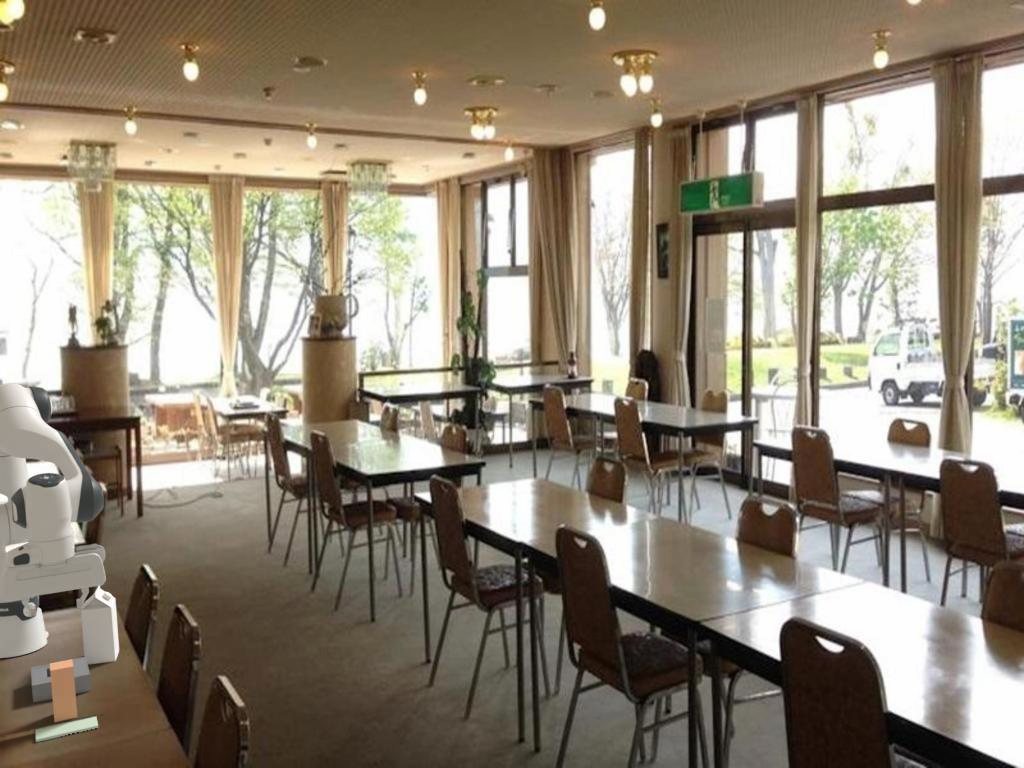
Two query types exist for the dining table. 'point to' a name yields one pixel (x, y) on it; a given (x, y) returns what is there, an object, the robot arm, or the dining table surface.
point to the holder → (43, 679)
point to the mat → (66, 728)
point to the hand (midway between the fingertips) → (57, 611)
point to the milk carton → (100, 628)
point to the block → (63, 690)
